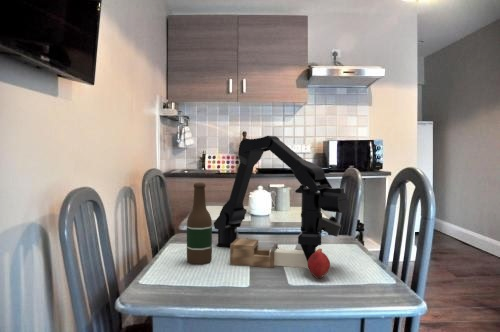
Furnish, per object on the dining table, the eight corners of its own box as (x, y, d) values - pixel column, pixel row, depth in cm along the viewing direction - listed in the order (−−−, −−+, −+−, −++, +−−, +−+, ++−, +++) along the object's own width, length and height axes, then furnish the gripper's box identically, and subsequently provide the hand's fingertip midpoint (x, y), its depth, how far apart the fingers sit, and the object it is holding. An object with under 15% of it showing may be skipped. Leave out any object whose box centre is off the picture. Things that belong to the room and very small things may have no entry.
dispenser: (230, 264, 107) (230, 244, 107) (236, 257, 115) (236, 238, 114) (273, 267, 104) (273, 247, 104) (277, 259, 112) (277, 240, 112)
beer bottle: (216, 259, 112) (217, 182, 111) (203, 266, 105) (203, 184, 104) (195, 256, 115) (195, 181, 114) (181, 263, 108) (181, 183, 107)
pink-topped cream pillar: (269, 265, 106) (269, 251, 106) (271, 261, 110) (271, 248, 110) (317, 268, 103) (317, 254, 103) (317, 264, 107) (317, 251, 107)
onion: (316, 283, 92) (316, 252, 91) (303, 276, 97) (303, 247, 96) (334, 279, 94) (334, 249, 94) (320, 273, 99) (320, 244, 99)
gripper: (340, 215, 94) (339, 274, 95) (338, 205, 113) (337, 254, 113) (298, 213, 97) (297, 271, 97) (302, 204, 115) (302, 252, 115)
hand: (310, 261), depth 106 cm, fingers closed on pink-topped cream pillar, 4 cm apart
